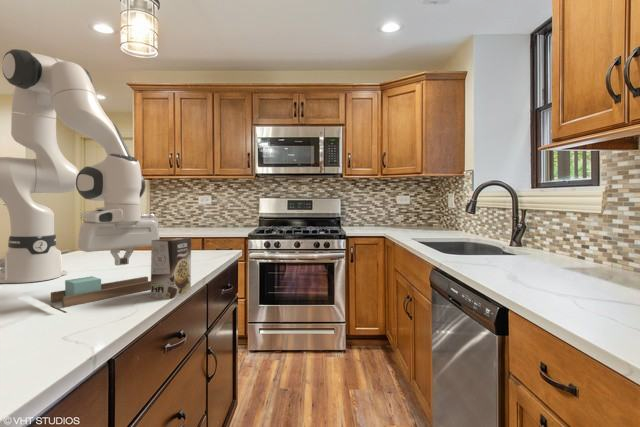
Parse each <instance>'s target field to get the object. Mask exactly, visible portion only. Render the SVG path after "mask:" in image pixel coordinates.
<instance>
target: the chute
mask: <svg viewBox="0 0 640 427" xmlns="http://www.w3.org/2000/svg"><path fill="white" fill-rule="evenodd" d="M148 291H151V280H149V276H140V277H136V278H129V279H123V280H116V281H113V282H112V281H111V282H106V283H105V282H104V283H101V290H98V291H92V292H87V293H81V294H76V295H70V296H65V289H64V290H57V291H52V292H50V303H52V304H54V303H58V302H62V304H61V305H62V306H61V307H62V308H69V307H73V306H74V307H75V306H80V305H85V304H88V303H93V302H99V301H104V300H108V299H109V300H110V299H113V298H119V297H123V296H128V295H129V296H130V295H133V294H138V293H143V292H148ZM50 307H51V308H53V309H55V310H57V311H60V312H62V313H65V314H66V313H67V311H66V310H62V309H61V308H59V307H56V306H54V305H51V304H50Z"/></svg>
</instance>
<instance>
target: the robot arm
mask: <svg viewBox="0 0 640 427" xmlns="http://www.w3.org/2000/svg"><path fill="white" fill-rule="evenodd" d="M1 68H2V69H1V70H2V74H3V76H4V78H5V80H6V81H7V82H8V83H9V84H11V85H12V86H15V87H14V91H13V95H12V96H13V97H12V100H11V124H10V125H11V126H10V127H11V128H10V129H11V130H10V134H11V137H12V139H13V140H14V141H15V142H17V144H19V145H20V146H23V147H24V148H27V149H29V150H31V151H33V153H35V158H24V157H13V156H11V157H10V156H0V200H1V201H2V202H3V203H4V205H5V206H6V208H7V211H8V215H9V220H10V235H9V237H8V241H7V243H8V245H7V247H8V248H7V251H6V252H5V253H4V255H3V257H2V258H0V284H11V283H12V284H15V283H17V284H18V283H19V284H20V283H32V282H33V283H34V282H41V281H47V280H48V281H49V280H53V279H56V278H59V277H61V276H65V275H68V271H67V270H63V262H62V259H63V258H62V251H61V250H60V249H58V248H57V247H56V245H57V235H56V234H55V213H54V211H53V210H52V209H51V208H50V207H48V206H47V205H44V204H42V203H39V202H37V201H34V200H33V198H32V196H31V194H36V193H37V194H63V193H64V194H65V193H71V192H74V191H76V190H77V192H78V194H79V195H80V196H81V197H82V198H83V199H85V200H89V201H98V202H99V201H104V202H103V207H100V208H97V209H94V210H91V211H90V210H89V211H86V212H84V213H83V214H82V219H83V221H84V222H83V223H82V224H81V225H80V228H79V233H78V243H77V244H78V245H77V246H78V248H79V249H80V251H82V252H85V253H93V252H103V251H110V255H111V256H112V257H113V259H114V265H115V266H124V265H129V263H130V257H131V256H132V255H133V253H134V248H141V247H152V240H159V239H160V231H159V218H158V216H156V215H155V214H153V213H142V201H141V198H142V196H143V195H144V193H145V191H146V186H147V185H146V180H145V178H144V176H143V174H142V169H141V165H140V162H139V159H137V158H136V157H133V156H132V155H131V153H130V151H129V149H128V147H127V145H126V143H125V140H124V138H123V136H122V135H121V133H120V131H119V129H118V127H117V126H116V125H115V123H114V122H113V121H112V120H111V119H110V118H109V117H108V115H107V114H106V113H105V111H104V109H103V108H102V106H101V104H100V102H99V100H98V96H97V93H96V92H97V91H96V90H95V88H94V86H93V80H92V77H91V74H90V71H89V70H87V69H85V67H82V66H81V65H80V64H78V63H75V62H72V61H66V60H63V59H60V58H57V57H54V56H48V55H44V54H40V53H36V52H29V51H28V50H27V49H26V50H25V49H15V48H14V49H10V50H9V51H6V52H5V53H4V56H3V59H2V63H1ZM57 118H58V119H59V121H60V122H61V123H62V124H63V125H64V126H66V127H67V128H69V129H70V130H72V131H74V132H77V133H78V134H81V135H82V136H83V135H84V136H85V137H87V138H90V139H91V140H93V141H94V142H96V143H98V144H99V145H100V146H101V147H102V148H103V150H104V151H105V153H106V156H105V158H104V159H103V160H102V161H100V162H98V163H96V164H93V165H90V166H84V167H82V169H80V170H79V169H78V168H77V167H76V166H75V165H74V164H73V163H72V162H70V161H69V160H68V159H67V158H66V157H65V155H64V154H63V153H62V151H61V149H60V147H59V145H58V140H57V138H58V137H57ZM122 249H124V254H123V256H122V257H120V255H119V254H120V253H121V252H120V251H121V250H122Z"/></svg>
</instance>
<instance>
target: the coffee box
mask: <svg viewBox="0 0 640 427" xmlns="http://www.w3.org/2000/svg"><path fill="white" fill-rule="evenodd" d="M150 247H151V249H150V250H151V252H150V253H151V255H150V256H151V260H150V261H151V262H150V281H151V290H150V298H154V299H165V300H167V299H168V300H172V299H175V298H177V297H180V296H182V295H184V294H187V293H189V292H191V291H192V290H191V289H192V288H191V285H192V283H191V281H192V265H191V264H192V238H191V237H167V238H159V240H152V246H150Z"/></svg>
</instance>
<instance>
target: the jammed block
mask: <svg viewBox="0 0 640 427" xmlns="http://www.w3.org/2000/svg"><path fill="white" fill-rule="evenodd" d="M64 284H65V285H64V286H65V289H64V290H65V296H70V295H76V294H81V293H87V292H92V291H98V290H101V284H102V278H99V277H96V276H86V277H85V276H84V277H79V278H71V279H66V280H65V281H64Z"/></svg>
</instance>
